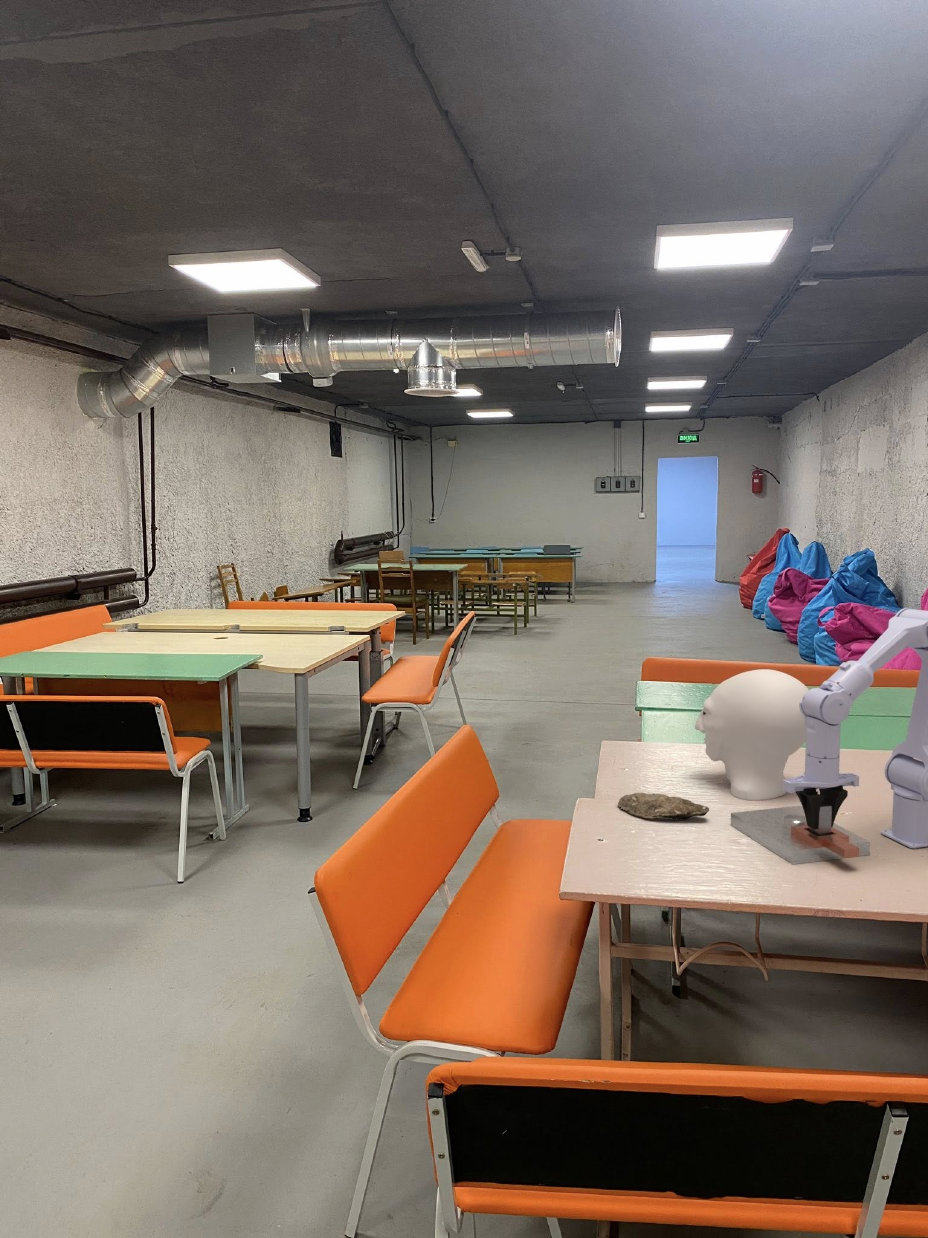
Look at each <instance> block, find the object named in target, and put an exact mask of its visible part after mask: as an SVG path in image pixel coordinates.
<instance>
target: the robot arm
mask: <svg viewBox="0 0 928 1238" xmlns="http://www.w3.org/2000/svg"><path fill="white" fill-rule="evenodd" d="M887 624H888V626H887V629H886V630H885V631H884V632H883V633H882V634H881V635H880V636H878V637H879V638H877V640H875V642H873V644H872V645H871V646H870V647H868V649H867V650H866V651H865V652H864V653H863V654H862V655H861V656H860V658H859V659H858V660H848V661H846V662H844V661H843V662H842V663H841V664H840V665H839V667H838V669H837V670H836V671H834V673H833V674H832V675H831V676H830V677H829V678H828V679H827V680H824V681H823V682H822V683H821V685H820V686H819V687H815V688H814V687H813V688H811V689H808V690H809V691H808V692H807V693H805V695H804V696H803V699H802V702H800V703H799V707H800V710H801V712H802V714H803V715H804V718H805V722H804V724H806V742H805V750H804V751H805V754H804V757H805V759H804V772H803V774H802V775H799V776H796V777H795V776H794V777H793V778H788V779H787V778H786V779H785V780H784V781H783V790H784V791H786V793H789V794H796V796H797V798H798V799H799V801H800V802H799V803H800V804H801V806H802V807H803V810H804V813H805V817H806V822H807V826H809V827H810V828H812V829H817V828H818V824H819V812H820V807H821V804H822V801H823V802H825V803H827V804H829V805H831V806H832V818H831V827H833V824H834V823H835V821H836V817H837V815H838V812H839V810H840V808H841V806H842V804H843V803H844V801H845V800H846V799H847V798H848V797H849V795H848V793H849V792H848V790H847V789H844V787H850V786H852V787H853V788H855V787H859V786H860V775H858V774H855V773H853V772H850V773H849V772H848V773H840V760H841V759H840V758H841V757H840V756H841V754H840V753H841V751H840V750H841V729H842V728H841V727H842V722H843V721H846V720H847V718H848V716H849V714H850V709H851V708H852V706H853V704H854V701H856V699H858V698H859V697H860V696H861V695H862V694H863V693H864V692H865V691H866V690H868V688H870V687H871V686H872V685H873V684H874V681H875V679H874V674H875V673H876V672H878V671H879V670H880V669H881V668H882V667H884V666H885V665H886V664H887V663H888V662H890V661H891V660H893V659H894V658H895V657H896V656H898V654H900V653H901V652H903V651H904V650H905V649H912V650H914V651H915V653H916V654H917V655H918V657H919V658H920V659H921V665H920V671H919V675H918V680H917V684H916V689H915V694H914V698H913V702H912V708H911V712H910V717H909V720H908V726H907V727H908V728H907V731H906V736H905V740H904V741H902V742H900V743H899V744H896V745H895V746H893V748H892V752H891V756H890V757H889V759H888V761H886V763H885V767H884V777H885V780H886V781H887V782H888V783H889V784H890V790H891V791H893V795H892V796H893V797H892V799H893V800H892V816H891V819H892V821H891V829H885V830H880V834H882V835H883V836H885V837H887V838H890V839H891V840H893V841H895V842H897V843H899V844H902V845H904V846H906V847H907V848H910V849H918V848H927V847H928V610H922V609H914V608H911V607H904V608H902V609H900V610H898V612H896V613H895V615H894V616H892V617H891V618H890V619H889V620H888V623H887ZM817 790H819V792H818V791H817Z"/></svg>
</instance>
